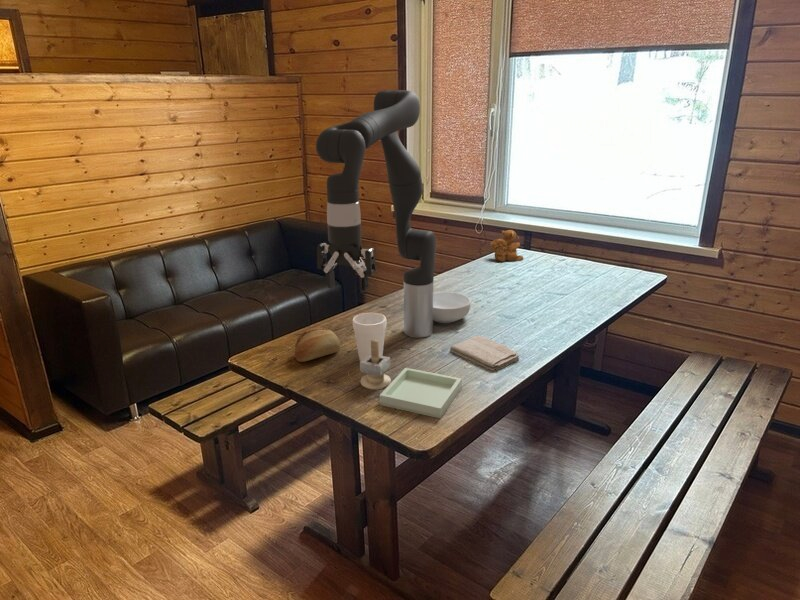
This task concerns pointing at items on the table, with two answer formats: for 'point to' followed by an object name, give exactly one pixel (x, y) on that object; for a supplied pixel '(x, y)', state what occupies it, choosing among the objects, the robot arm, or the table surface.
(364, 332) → the foam cup
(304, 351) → the bread roll
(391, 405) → the tray
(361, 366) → the ring
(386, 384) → the beige peg stand
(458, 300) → the cereal bowl
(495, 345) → the washcloth
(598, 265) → the table surface
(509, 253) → the stuffed squirrel
